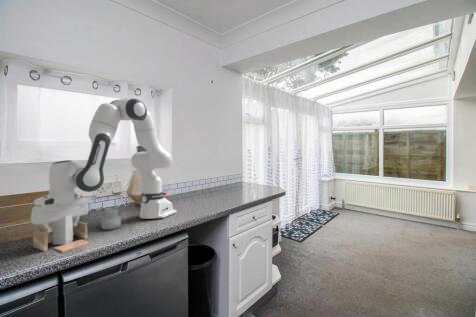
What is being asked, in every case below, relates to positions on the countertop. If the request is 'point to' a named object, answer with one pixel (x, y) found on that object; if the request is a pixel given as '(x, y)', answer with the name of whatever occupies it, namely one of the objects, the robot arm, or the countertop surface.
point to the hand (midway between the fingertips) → (62, 229)
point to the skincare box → (62, 231)
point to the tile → (71, 245)
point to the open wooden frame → (44, 238)
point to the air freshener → (111, 219)
